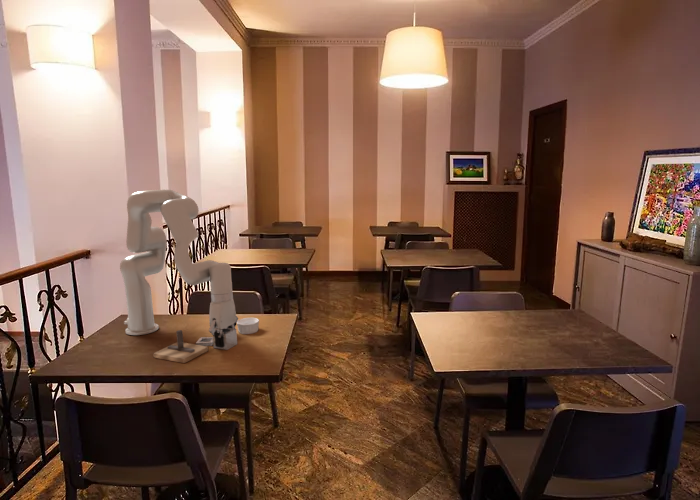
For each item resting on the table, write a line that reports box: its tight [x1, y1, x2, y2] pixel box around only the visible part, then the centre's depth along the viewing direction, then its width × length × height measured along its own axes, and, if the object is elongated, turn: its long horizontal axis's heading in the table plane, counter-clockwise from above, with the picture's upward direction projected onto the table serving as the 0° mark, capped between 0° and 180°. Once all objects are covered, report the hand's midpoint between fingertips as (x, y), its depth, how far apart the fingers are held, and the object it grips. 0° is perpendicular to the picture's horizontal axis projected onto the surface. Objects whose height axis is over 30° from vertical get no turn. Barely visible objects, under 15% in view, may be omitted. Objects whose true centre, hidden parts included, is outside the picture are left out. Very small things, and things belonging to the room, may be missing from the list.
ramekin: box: [236, 317, 260, 335], centre depth 192 cm, size 9×9×4 cm
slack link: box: [195, 336, 214, 347], centre depth 180 cm, size 6×6×1 cm
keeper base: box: [152, 329, 209, 364], centre depth 169 cm, size 14×12×8 cm
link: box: [212, 328, 238, 351], centre depth 176 cm, size 6×6×6 cm
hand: (225, 343), depth 177 cm, fingers closed on link, 6 cm apart
